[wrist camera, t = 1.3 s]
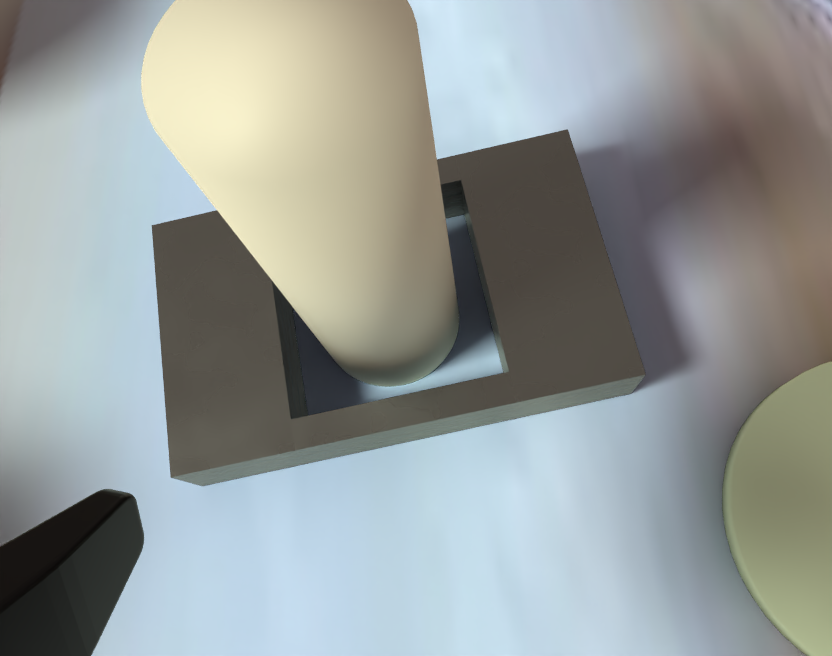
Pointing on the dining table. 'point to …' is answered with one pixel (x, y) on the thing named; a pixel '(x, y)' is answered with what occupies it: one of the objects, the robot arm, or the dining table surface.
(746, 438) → the sage mat
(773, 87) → the dining table surface
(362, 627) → the dining table surface
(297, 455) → the dark grey peg holder
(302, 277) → the cream round peg
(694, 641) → the dining table surface
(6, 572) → the robot arm
